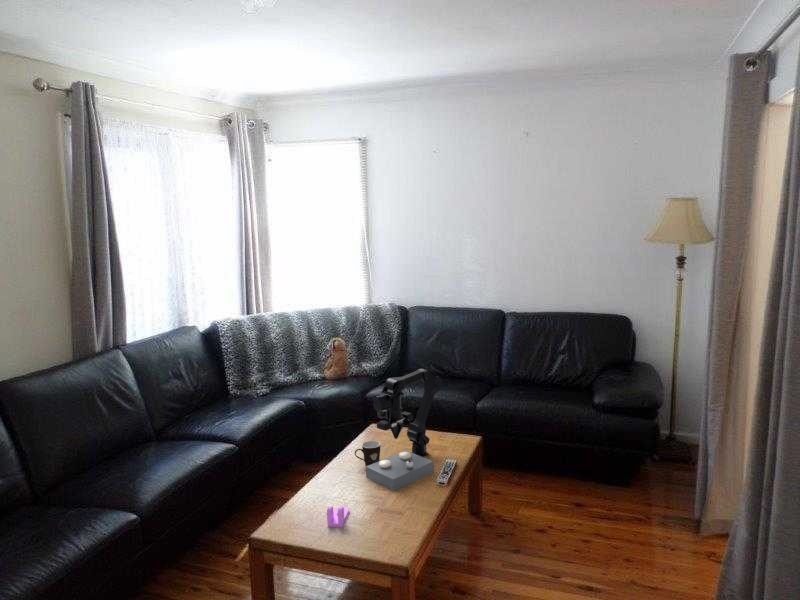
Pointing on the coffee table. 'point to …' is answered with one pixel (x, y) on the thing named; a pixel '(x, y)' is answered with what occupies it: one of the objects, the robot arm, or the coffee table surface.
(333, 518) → the bracket
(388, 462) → the knob
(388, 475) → the console block
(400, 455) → the knob
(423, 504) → the coffee table surface
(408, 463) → the potentiometer
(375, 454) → the coffee mug
